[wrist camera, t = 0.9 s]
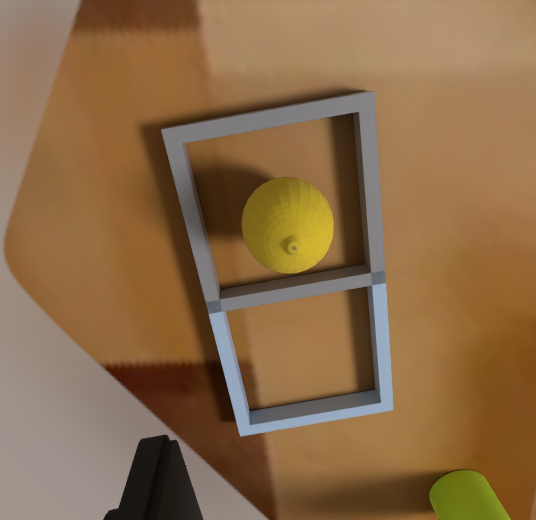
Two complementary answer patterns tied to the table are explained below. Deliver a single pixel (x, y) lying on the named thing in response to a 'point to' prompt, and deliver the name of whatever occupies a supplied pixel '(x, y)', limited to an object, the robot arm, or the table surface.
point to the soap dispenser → (465, 498)
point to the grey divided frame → (298, 285)
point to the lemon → (287, 225)
